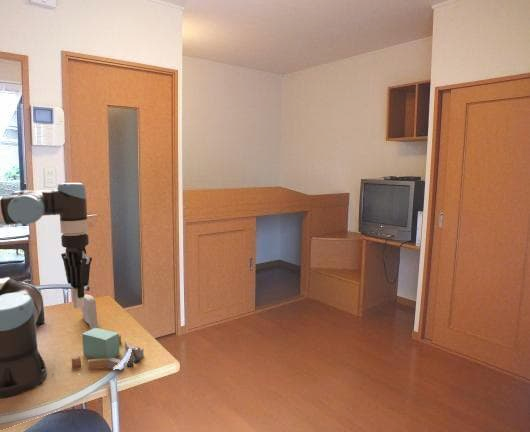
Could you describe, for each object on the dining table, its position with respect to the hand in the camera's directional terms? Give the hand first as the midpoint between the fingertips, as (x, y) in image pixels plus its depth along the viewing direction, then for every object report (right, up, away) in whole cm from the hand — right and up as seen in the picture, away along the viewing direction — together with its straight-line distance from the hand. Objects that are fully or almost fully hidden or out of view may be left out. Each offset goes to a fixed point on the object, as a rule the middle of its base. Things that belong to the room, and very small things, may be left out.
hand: (79, 306), depth 124 cm
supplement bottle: (-27, -12, +22) cm, 37 cm away
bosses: (+19, -15, -7) cm, 26 cm away
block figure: (+12, -15, -3) cm, 19 cm away
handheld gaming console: (-7, -11, +23) cm, 27 cm away
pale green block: (+8, -15, -1) cm, 17 cm away
